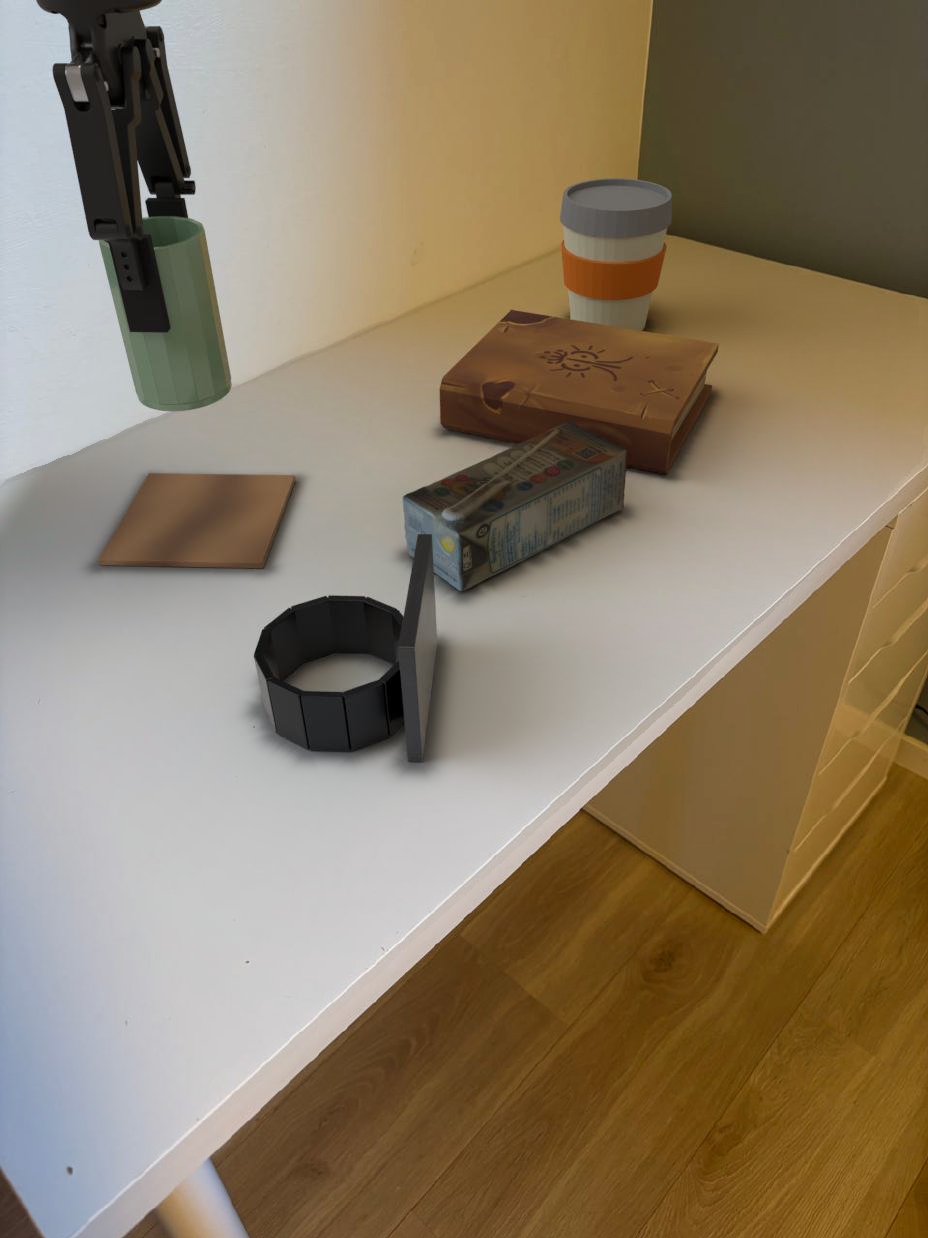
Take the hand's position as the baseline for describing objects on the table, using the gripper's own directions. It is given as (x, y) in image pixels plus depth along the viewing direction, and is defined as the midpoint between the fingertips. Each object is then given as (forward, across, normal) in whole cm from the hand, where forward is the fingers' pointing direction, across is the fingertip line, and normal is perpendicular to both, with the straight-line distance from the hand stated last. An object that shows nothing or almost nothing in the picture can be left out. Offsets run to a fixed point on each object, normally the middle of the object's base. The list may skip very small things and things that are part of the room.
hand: (167, 307), depth 73 cm
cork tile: (+21, +3, +2) cm, 21 cm away
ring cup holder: (+21, -19, -14) cm, 31 cm away
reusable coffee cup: (+21, +47, -36) cm, 63 cm away
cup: (+7, 0, 0) cm, 7 cm away
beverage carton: (+21, +2, -26) cm, 33 cm away
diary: (+21, +24, -32) cm, 45 cm away
